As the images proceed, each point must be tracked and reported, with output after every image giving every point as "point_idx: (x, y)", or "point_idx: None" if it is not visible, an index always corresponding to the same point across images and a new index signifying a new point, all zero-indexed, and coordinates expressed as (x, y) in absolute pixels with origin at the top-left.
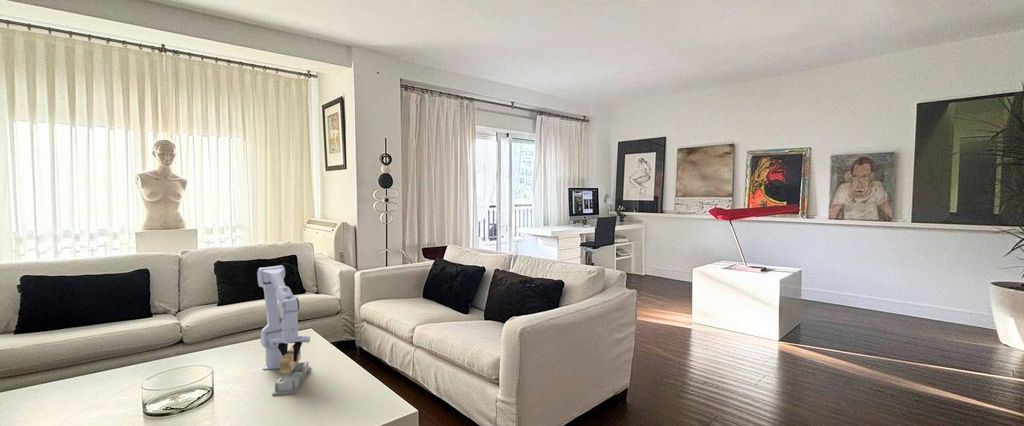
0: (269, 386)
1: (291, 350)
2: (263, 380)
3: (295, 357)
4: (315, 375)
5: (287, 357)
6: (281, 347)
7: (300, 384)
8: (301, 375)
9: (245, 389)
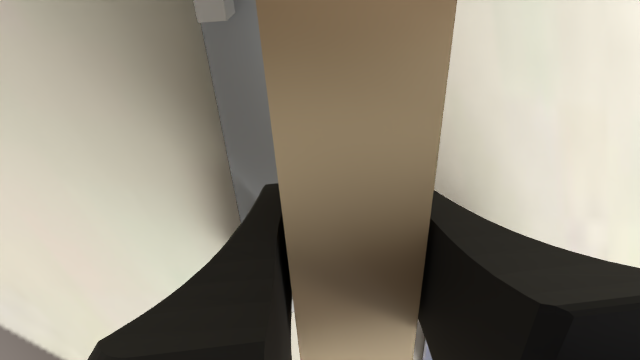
0: (456, 35)
1: (367, 343)
2: (514, 147)
3: (259, 204)
4: (168, 191)
5: (327, 17)
6: (610, 298)
7: (203, 25)
8: (260, 176)
9: (625, 3)
